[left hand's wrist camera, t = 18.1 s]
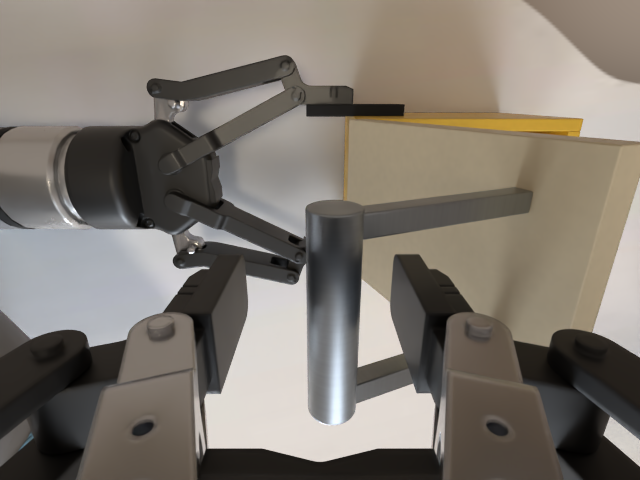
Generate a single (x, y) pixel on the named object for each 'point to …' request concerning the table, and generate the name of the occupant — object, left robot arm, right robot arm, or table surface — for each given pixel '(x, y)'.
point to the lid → (461, 238)
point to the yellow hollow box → (478, 125)
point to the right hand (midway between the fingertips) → (394, 179)
